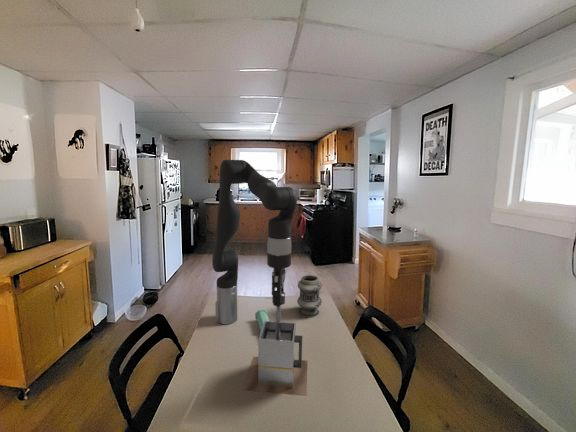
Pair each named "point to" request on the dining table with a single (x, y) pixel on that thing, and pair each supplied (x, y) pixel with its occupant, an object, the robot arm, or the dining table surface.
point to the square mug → (278, 356)
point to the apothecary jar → (309, 295)
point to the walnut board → (297, 389)
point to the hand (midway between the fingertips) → (278, 299)
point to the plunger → (278, 334)
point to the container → (261, 317)
